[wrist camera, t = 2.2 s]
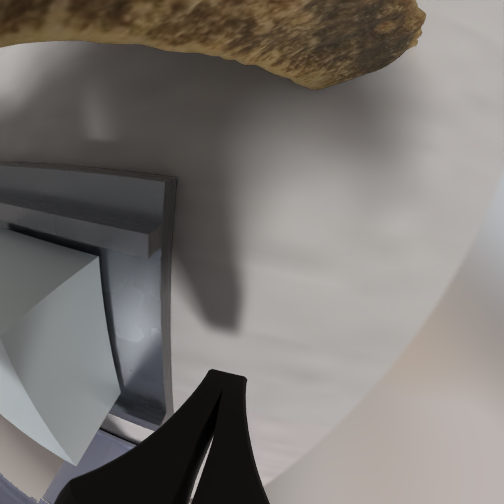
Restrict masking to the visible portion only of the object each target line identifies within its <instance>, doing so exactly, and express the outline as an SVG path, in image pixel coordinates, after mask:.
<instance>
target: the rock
mask: <svg viewBox="0 0 504 504" xmlns="http://www.w3.org/2000/svg"><path fill="white" fill-rule="evenodd" d="M417 6H418V5H417V3H416V0H0V48H1V47H5V46H10V45H16V44H23V43H33V42H45V41H90V42H95V43H105V44H141V45H145V46H149V47H153V48H157V49H161V50H165V51H174V52H184V53H196V52H197V53H201V54H206V55H210V56H220V57H221V58H223V59H225V60H236V61H238V62H239V63H241V64H244V65H257V66H259V67H261V68H263V69H265V70H266V71H268V72H271V73H273V74H275V75H278V76H281V77H284V78H289V79H290V80H291V81H293V82H294V83H296V84H298V85H300V86H304V87H307V88H310V89H312V90H316V89H322V88H325V87H329V86H332V85H335V84H338V83H341V82H344V81H346V80H350V79H353V78H356V77H359V76H362V75H364V74H367V73H371V72H374V71H377V70H379V69H381V68H383V67H385V66H387V65H389V64H390V63H392V62H393V61H394V60H396V59H397V58H399V57H400V56H401V55H402V54H403V53H404V52H405V51H406V50H407V49H409V48H411V47H413V46H416V45H417V43H418V41H417V39H418V38H419V37H420V36H421V34H422V31H421V26H422V25H423V24H424V21H425V19H426V14H425V12H423V11H422V10H421V9H419V8H418V7H417Z"/></svg>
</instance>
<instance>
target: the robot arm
mask: <svg viewBox="0 0 504 504" xmlns="http://www.w3.org/2000/svg"><path fill="white" fill-rule="evenodd" d="M246 383H247V379H246V378H245V377H244V376H239V375H235V374H231V373H226V372H222V371H218V370H214V369H211V370H209V371H208V373H207V375H206V376H205V378H204V379H203V381H202V382H201V383H200V385H199V386H198V387H197V389H196V390H195V391H194V392H193V394H192V395H191V396H190V397H189V398H188V399H187V401H186V402H185V403H184V404H183V405H182V406H181V407H180V408H179V409H178V410H177V411H176V412H175V413H174V414H173V415H172V416H171V417H170V418H169V419H168V420H167V421H166V422H165V423H164V424H163V425H162V426H161V427H160V428H158V429H157V430H156V431H155V432H154V433H152V434H151V435H150V436H149V437H147V438H146V439H145V440H143V441H142V442H141V443H139V444H138V445H135V444H132V443H130V442H127V441H125V440H122V439H120V438H118V437H115V436H113V435H111V434H109V433H107V432H104V431H102V430H100V429H98V431H97V432H96V434H95V436H94V438H93V439H92V441H91V443H90V444H89V446H88V448H87V449H86V451H85V453H84V454H83V456H82V458H81V460H80V461H79V463H78V465H77V466H74V465H73V464H71V463H69V462H68V461H66V460H65V461H64V462H63V464H62V466H61V467H60V469H59V471H58V472H57V474H56V476H55V477H54V479H53V481H52V482H51V484H50V486H49V488H48V489H47V491H46V493H45V495H44V496H43V499H44V500H46V501H47V502H48V503H50V504H189V500H190V497H191V494H192V490H193V487H194V484H195V480H196V478H197V475H198V472H199V469H200V467H201V465H202V462H203V460H204V458H205V455H206V453H207V450H208V448H209V445H210V443H211V441H212V438H213V441H212V445H211V448H210V451H209V454H208V457H207V460H206V463H205V466H204V469H203V472H202V475H201V478H200V481H199V484H198V486H197V489H196V492H195V495H194V498H193V500H192V503H191V504H270V503H269V501H268V498H267V496H266V493H265V491H264V488H263V486H262V483H261V480H260V477H259V474H258V470H257V467H256V463H255V460H254V456H253V451H252V447H251V442H250V437H249V431H248V423H247V415H246ZM213 436H214V437H213ZM36 502H37V500H36V499H34V498H33V497H28V496H27V495H26V494H24V493H23V492H21V491H20V490H19V489H18V488H17V487H15V486H14V485H13V484H12V483H11V482H9V481H8V480H7V479H6V478H4V477H3V475H2V474H1V473H0V504H47V503H46V502H45V501H43V500H42V499H40V501H39V503H36Z"/></svg>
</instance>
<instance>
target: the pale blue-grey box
mask: <svg viewBox="0 0 504 504" xmlns="http://www.w3.org/2000/svg"><path fill="white" fill-rule="evenodd" d="M120 393H121V391H120V388H119V383H118V379H117V375H116V371H115V366H114V361H113V357H112V352H111V346H110V341H109V335H108V330H107V323H106V317H105V310H104V303H103V295H102V287H101V277H100V266H99V256H95V255H92V254H88V253H85V252H81V251H78V250H74V249H71V248H67V247H64V246H60V245H57V244H54V243H50V242H47V241H43V240H40V239H37V238H34V237H30V236H27V235H24V234H21V233H18V232H15V231H11V230H8V229H5V228H2V227H0V414H1V415H2V416H4V417H5V418H6V419H7V420H9V421H10V422H11V423H12V424H13V425H15V426H16V427H17V428H19V429H20V430H21V431H23V432H24V433H25V434H27V435H28V436H30V437H31V438H32V439H34V440H35V441H36V442H38V443H39V444H41V445H42V446H44V447H45V448H47V449H48V450H50V451H51V452H53V453H54V454H56V455H58V456H59V457H61V458H63V459H64V460H66V461H68V462H69V463H71V464H73V465H74V466H77V465H78V463H79V461H80V460H81V458H82V456H83V454H84V453H85V451H86V449H87V448H88V446H89V444H90V443H91V441H92V439H93V438H94V436H95V434H96V432H97V431H98V429H99V428H100V426H101V424H102V423H103V421H104V419H105V418H106V416H107V414H108V413H109V411H110V409H111V408H112V406H113V405H114V403H115V401H116V400H117V398H118V396H119V395H120Z"/></svg>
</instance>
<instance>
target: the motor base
mask: <svg viewBox="0 0 504 504" xmlns="http://www.w3.org/2000/svg"><path fill="white" fill-rule="evenodd" d="M176 185H177V177H172V176H164V175H157V174H149V173H141V172H133V171H124V170H115V169H105V168H94V167H83V166H71V165H57V164H41V163H20V162H0V227H2V228H5V229H8V230H11V231H15V232H18V233H21V234H24V235H27V236H30V237H34V238H37V239H40V240H43V241H47V242H50V243H54V244H57V245H60V246H64V247H67V248H71V249H74V250H78V251H81V252H85V253H88V254H92V255H95V256H99V266H100V277H101V287H102V295H103V303H104V310H105V317H106V323H107V330H108V335H109V341H110V346H111V352H112V357H113V361H114V366H115V371H116V375H117V379H118V383H119V388H120V391H121V393H120V395H119V396H118V398H117V400H116V401H115V403H114V405H113V406H112V408H111V409H110V411H109V413H110V414H113V415H115V416H117V417H120V418H122V419H125V420H127V421H129V422H132V423H134V424H137V425H140V426H142V427H145V428H148V429H150V430H153V431H156V430H157V429H158V428H160V427H161V426H162V425H163V424H164V423H165V422H166V421H167V420H168V419H169V418H170V417H171V416H172V415H173V414H174V413H173V397H172V377H171V342H170V297H171V261H172V240H173V223H174V209H175V196H176Z"/></svg>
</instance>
